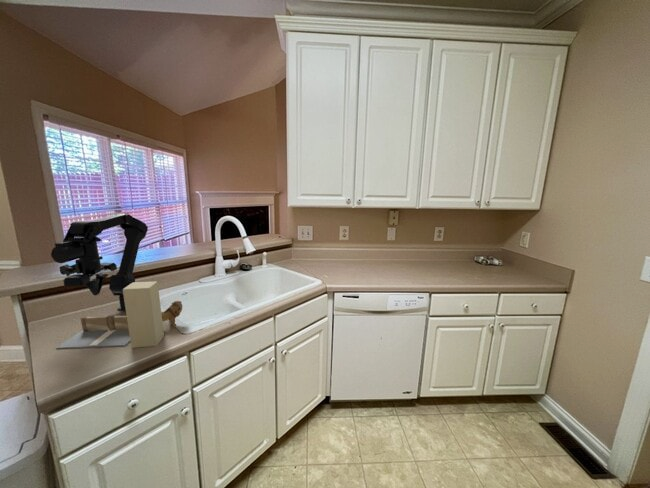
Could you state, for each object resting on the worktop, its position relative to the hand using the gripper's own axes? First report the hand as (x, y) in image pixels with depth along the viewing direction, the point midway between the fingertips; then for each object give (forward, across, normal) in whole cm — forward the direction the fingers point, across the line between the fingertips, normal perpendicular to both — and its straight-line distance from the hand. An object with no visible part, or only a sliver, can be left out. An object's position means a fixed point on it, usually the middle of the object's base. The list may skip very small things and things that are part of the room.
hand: (96, 294), depth 103 cm
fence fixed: (+12, +6, +13) cm, 18 cm away
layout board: (+12, +7, +8) cm, 16 cm away
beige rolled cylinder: (+11, +6, +2) cm, 13 cm away
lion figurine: (+12, +4, +26) cm, 29 cm away
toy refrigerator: (+12, +14, +25) cm, 31 cm away
